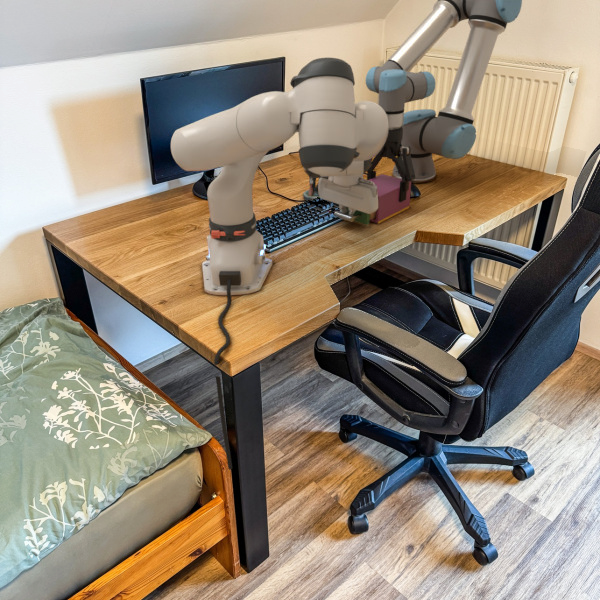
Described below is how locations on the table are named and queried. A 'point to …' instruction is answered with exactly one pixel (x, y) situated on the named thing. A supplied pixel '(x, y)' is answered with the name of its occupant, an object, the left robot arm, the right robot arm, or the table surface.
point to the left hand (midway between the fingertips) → (347, 219)
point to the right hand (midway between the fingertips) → (386, 196)
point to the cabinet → (389, 197)
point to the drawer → (356, 216)
